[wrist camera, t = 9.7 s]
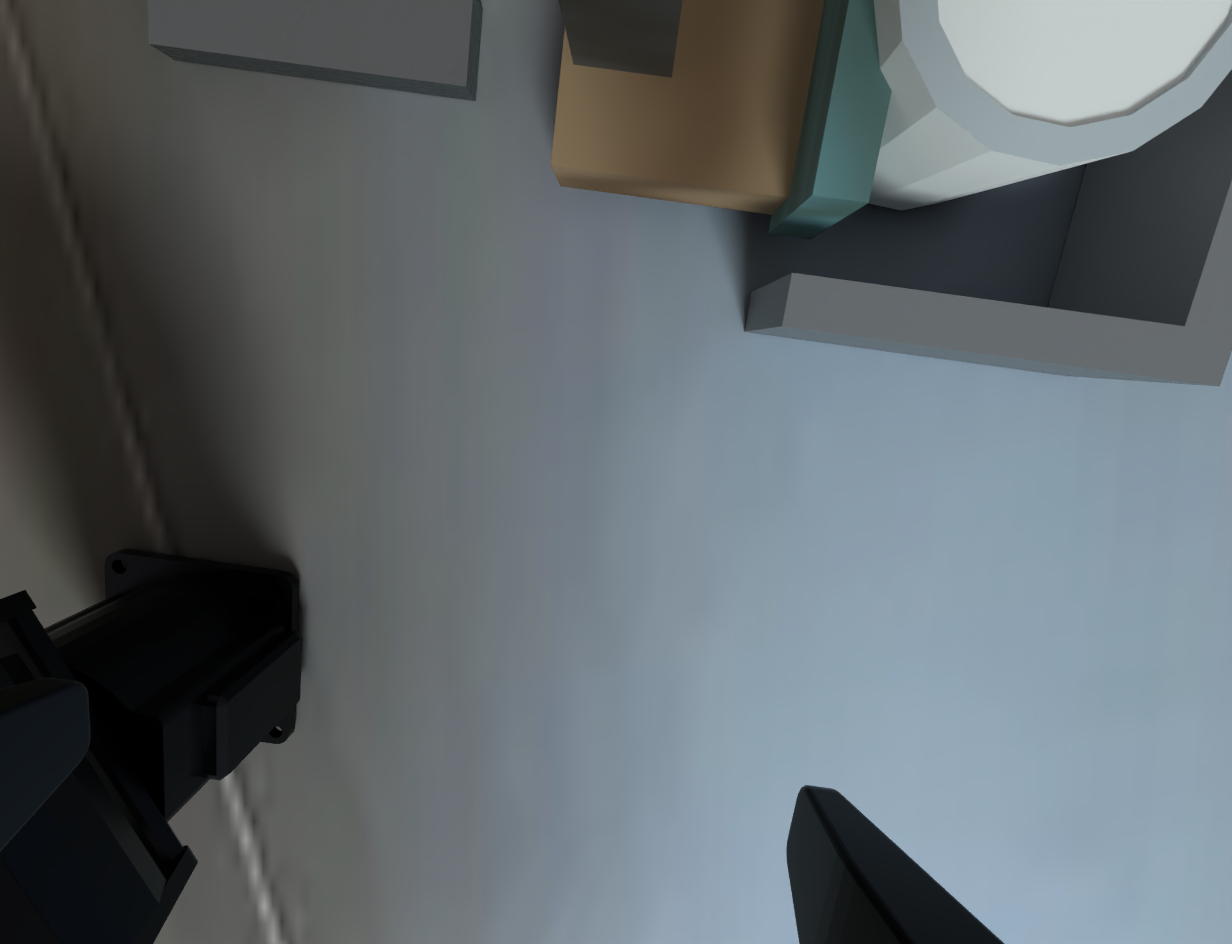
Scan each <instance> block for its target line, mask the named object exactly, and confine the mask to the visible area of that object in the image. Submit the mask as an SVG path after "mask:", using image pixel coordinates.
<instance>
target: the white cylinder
mask: <svg viewBox="0 0 1232 944" xmlns="http://www.w3.org/2000/svg"><path fill="white" fill-rule="evenodd" d="M874 10H875V20H876V31H877V41H878V52H879V62H880V69H881V71H882V73H883V75H884V77H885V79H886V81H887V83H888V85H889V87H890V88H891V90H892V93H891V97H890V102H889V107H888V112H887V117H886V122H885V126H884V131H883V136H882V141H881V146H880V151H879V155H878V160H877V165H876V170H875V175H874V180H873V185H872V189H871V194H870V199H869V204H874V205H878V206H883V207H888V208H892V209H897V210H901V211H902V210H907V209H912V208H917V207H922V206H927V205H932V204H937V203H941V202H945V201H948V200H952V199H956V198H960V197H963V196H967V195H971V194H975V193H978V192H982V191H986V190H989V189H993V188H997V187H1001V186H1004V185H1008V184H1012V183H1016V182H1019V181H1023V180H1027V179H1030V178H1034V177H1038V176H1042V175H1045V174H1049V173H1053V172H1057V171H1060V170H1064V169H1068V168H1071V167H1075V166H1079V165H1083V164H1086V163H1090V162H1094V161H1098V160H1101V159H1105V158H1109V157H1112V156H1116V155H1120V154H1124V153H1127V152H1131V151H1134V150H1135V149H1137V148H1138V147H1140V146H1142V145H1143V144H1145V143H1146V142H1148V141H1149V140H1151V139H1152V138H1154V137H1156V136H1157V135H1159V134H1160V133H1162V132H1163V131H1165V130H1167V129H1168V128H1170V127H1171V126H1173V125H1174V124H1176V123H1178V122H1179V121H1181V120H1182V119H1184V118H1185V117H1187V116H1188V115H1190V114H1192V113H1193V112H1195V111H1196V110H1198V109H1199V108H1201V107H1202V106H1203V104H1204V103H1205V102H1206V101H1207V99H1208V98H1209V97H1210V96H1211V95H1212V93H1213V92H1214V91H1215V90H1216V88H1217V87H1218V86H1219V85H1220V83H1221V82H1222V81H1223V80H1224V78H1225V77H1226V76H1227V75H1228V73H1229V72H1230V71H1231V70H1232V0H874Z"/></svg>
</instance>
